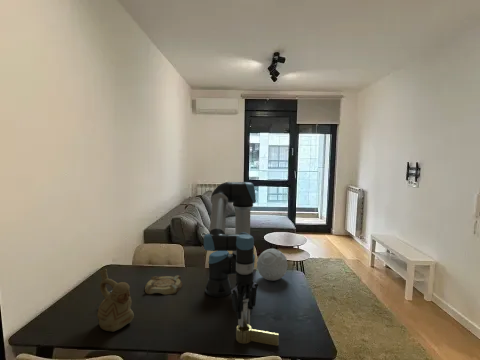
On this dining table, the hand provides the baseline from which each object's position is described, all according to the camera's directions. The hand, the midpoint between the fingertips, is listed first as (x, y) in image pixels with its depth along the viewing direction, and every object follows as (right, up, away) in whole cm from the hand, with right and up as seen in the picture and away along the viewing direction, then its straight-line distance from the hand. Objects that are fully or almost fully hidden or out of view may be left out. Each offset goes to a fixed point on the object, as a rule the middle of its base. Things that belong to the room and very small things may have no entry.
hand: (244, 323), depth 131 cm
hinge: (+7, -7, +4) cm, 10 cm away
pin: (0, -1, 0) cm, 1 cm away
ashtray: (-48, -3, +51) cm, 70 cm away
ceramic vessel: (-61, -6, +11) cm, 62 cm away
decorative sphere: (+19, -2, +65) cm, 67 cm away
